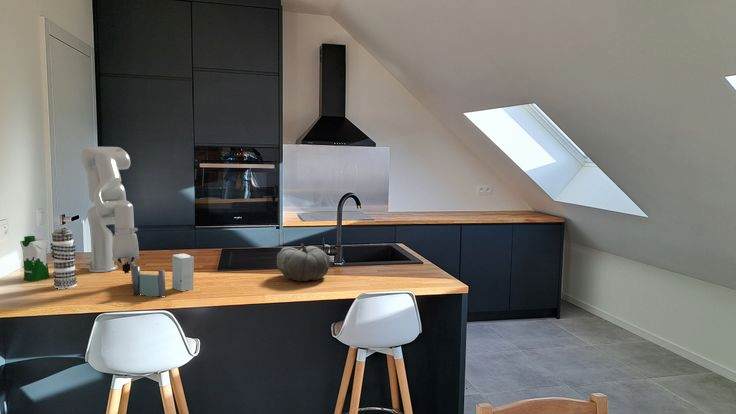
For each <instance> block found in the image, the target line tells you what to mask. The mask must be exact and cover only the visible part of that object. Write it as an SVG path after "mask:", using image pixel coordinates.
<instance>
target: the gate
mask: <svg viewBox="0 0 736 414" xmlns="http://www.w3.org/2000/svg"><path fill="white" fill-rule="evenodd" d="M133 266H136V262H135V261H134V262H133V261H132V262H131V264H130V271H131V272H130V273H131V282H132V283H133V274H132V267H133Z"/></svg>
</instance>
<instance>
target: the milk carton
mask: <svg viewBox="0 0 736 414" xmlns="http://www.w3.org/2000/svg"><path fill="white" fill-rule="evenodd" d="M23 239H24V240H20V241H19V244H20V246H21V250H22V258H23V280H24V281H28V282H39V281H42V280H46V279H50V278H51V277H50V272H49V263H48V244H49V243H48V242H49V239H44V238H37V237H36V236H35V235H27V236H24V237H23Z"/></svg>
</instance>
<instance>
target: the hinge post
mask: <svg viewBox="0 0 736 414" xmlns="http://www.w3.org/2000/svg"><path fill="white" fill-rule="evenodd" d="M132 274H133V282H132V291H133V292H132V293H133V296H134V295H140V274H141V267H140V266H139V265H135V266H133V267H132ZM140 296H141V295H140Z"/></svg>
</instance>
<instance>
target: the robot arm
mask: <svg viewBox="0 0 736 414" xmlns="http://www.w3.org/2000/svg"><path fill="white" fill-rule="evenodd" d="M80 157H81V158H80V159H81V162H82V166H83V169H84V170H85V173H86V175H87V186H88V187H87V188H88V196H89V200H90V202H92V203H93V205H94V206H91V207H89V208H88V210H87V211H86V217H87V221H88V227H89V233H90V234H89V235H90V249H91V250H90V251H91V260H89V259H88V260H86V262H85V265H86V266H89V267H88V271H89V272H90V273H108V272H113V271H115V270H117V269H118V265H117V264H115V262H119V263H120V264H121V265H122V268H121V269H122V272H124V274H129V273H130V271H131V263H132V262H133V261H135V260H137V259H140V253H139V251H140V250H139V241H138V236H137V233H135V232H138V230H139V228H138V227H135V220H134V219H135V217H134V215H135V214H134V205H133V204H132V203H131V202H130V201H129V200H127V195H126V194H127V193H126V189H125V186H124V185H123V184H122V177H121V173H120V170H128V169H129V168H130V166H131V157H130V155H129V154H128V152H127V151H125V150H124V149H123V148H122V147H119V146H88V147H84V148H83V149H82V150H81V155H80ZM109 225H114V234H113V232H112V231H111V229H110V228H108V227H107V226H109ZM125 258H127V259H126V260H127V261H125Z"/></svg>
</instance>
